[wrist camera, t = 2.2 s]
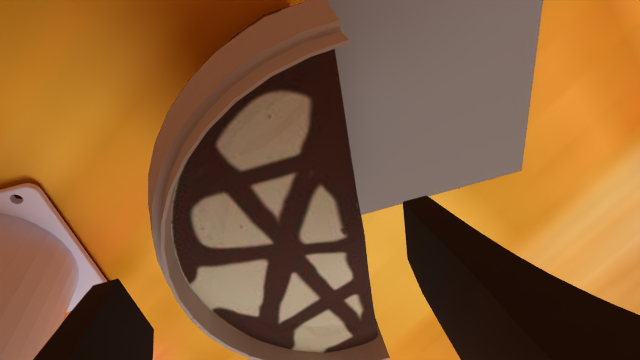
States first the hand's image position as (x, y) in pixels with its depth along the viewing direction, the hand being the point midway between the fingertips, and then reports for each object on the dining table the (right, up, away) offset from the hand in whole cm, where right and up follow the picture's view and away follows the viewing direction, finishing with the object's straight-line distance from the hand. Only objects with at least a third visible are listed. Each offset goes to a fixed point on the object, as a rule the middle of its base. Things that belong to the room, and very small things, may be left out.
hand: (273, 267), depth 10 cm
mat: (+7, +7, +10) cm, 14 cm away
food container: (-2, +5, +9) cm, 11 cm away
